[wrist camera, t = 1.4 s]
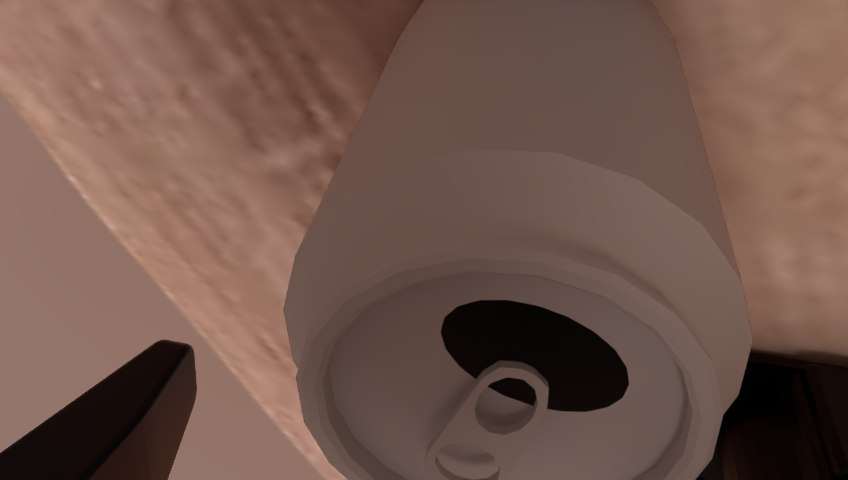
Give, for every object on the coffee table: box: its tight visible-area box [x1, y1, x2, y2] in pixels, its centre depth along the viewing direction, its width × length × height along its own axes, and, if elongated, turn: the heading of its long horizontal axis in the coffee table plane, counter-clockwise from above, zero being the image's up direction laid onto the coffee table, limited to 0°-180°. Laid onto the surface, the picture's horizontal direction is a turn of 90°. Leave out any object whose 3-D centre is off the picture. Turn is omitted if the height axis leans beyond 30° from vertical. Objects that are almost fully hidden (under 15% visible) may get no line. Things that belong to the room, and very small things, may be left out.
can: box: [284, 0, 753, 480], centre depth 16 cm, size 8×8×12 cm
